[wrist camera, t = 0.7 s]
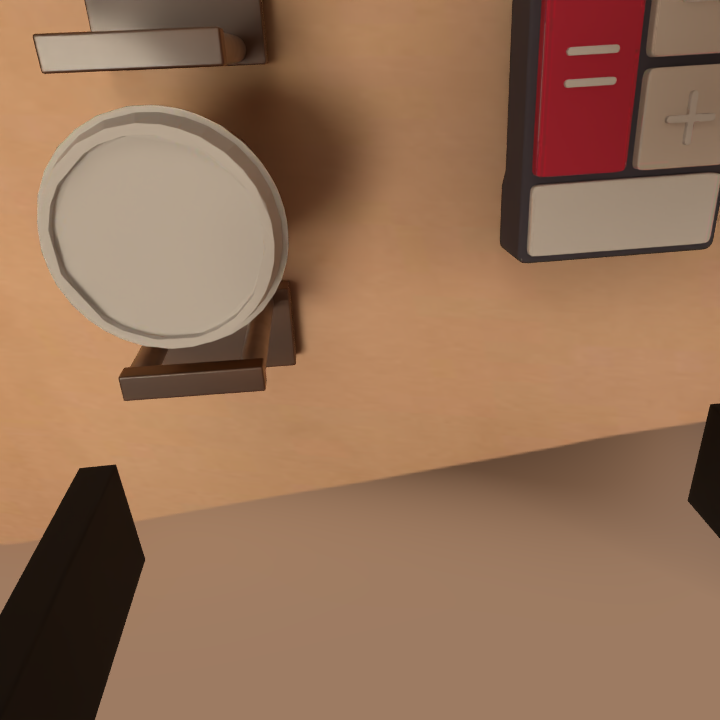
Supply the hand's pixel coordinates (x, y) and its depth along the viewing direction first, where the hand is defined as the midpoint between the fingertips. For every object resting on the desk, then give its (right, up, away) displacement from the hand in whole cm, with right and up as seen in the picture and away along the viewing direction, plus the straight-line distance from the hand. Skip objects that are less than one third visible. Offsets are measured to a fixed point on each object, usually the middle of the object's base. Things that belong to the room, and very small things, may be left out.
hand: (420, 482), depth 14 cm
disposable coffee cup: (-10, +13, +20) cm, 25 cm away
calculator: (+12, +17, +20) cm, 28 cm away
